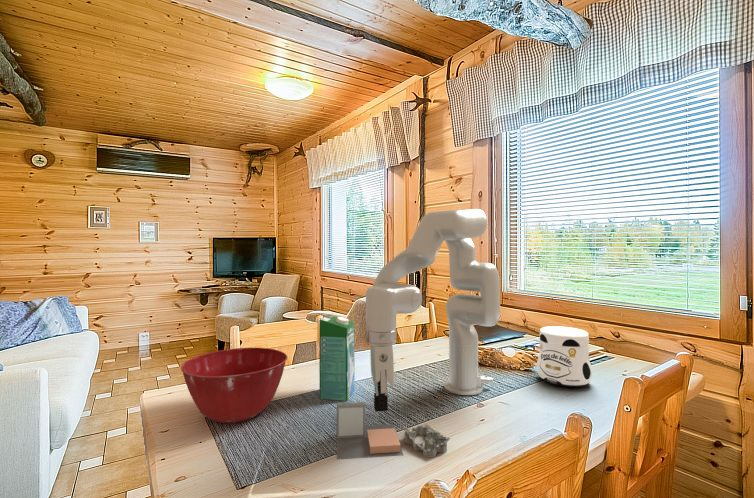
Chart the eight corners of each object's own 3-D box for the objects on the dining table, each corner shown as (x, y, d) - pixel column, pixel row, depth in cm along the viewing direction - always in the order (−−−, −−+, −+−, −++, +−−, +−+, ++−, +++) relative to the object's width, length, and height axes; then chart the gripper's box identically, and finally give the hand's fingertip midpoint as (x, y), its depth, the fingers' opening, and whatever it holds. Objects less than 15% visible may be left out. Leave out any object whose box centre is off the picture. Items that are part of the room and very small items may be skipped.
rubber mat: (393, 426, 102) (393, 424, 102) (403, 457, 87) (403, 455, 87) (336, 429, 100) (336, 427, 100) (337, 461, 85) (337, 459, 85)
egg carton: (399, 443, 94) (399, 426, 94) (423, 435, 98) (423, 419, 98) (427, 464, 85) (427, 445, 85) (452, 454, 89) (452, 436, 89)
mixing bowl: (187, 401, 118) (186, 351, 118) (281, 388, 128) (281, 342, 128) (174, 446, 92) (173, 382, 92) (294, 426, 102) (293, 368, 102)
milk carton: (347, 401, 118) (346, 320, 118) (319, 398, 120) (319, 319, 120) (354, 390, 127) (354, 315, 127) (328, 388, 129) (328, 314, 128)
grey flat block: (364, 433, 97) (364, 402, 96) (365, 437, 95) (365, 404, 95) (336, 435, 96) (336, 403, 96) (336, 438, 94) (336, 406, 94)
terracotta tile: (394, 428, 96) (400, 444, 88) (394, 435, 96) (400, 452, 88) (367, 429, 95) (370, 446, 87) (367, 436, 95) (370, 454, 87)
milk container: (541, 388, 128) (541, 335, 128) (533, 372, 145) (533, 324, 144) (598, 393, 124) (599, 338, 124) (583, 375, 141) (583, 326, 140)
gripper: (400, 343, 88) (400, 423, 88) (391, 329, 103) (391, 397, 103) (368, 344, 87) (368, 424, 87) (363, 330, 102) (363, 398, 102)
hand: (380, 409), depth 95 cm, fingers closed
